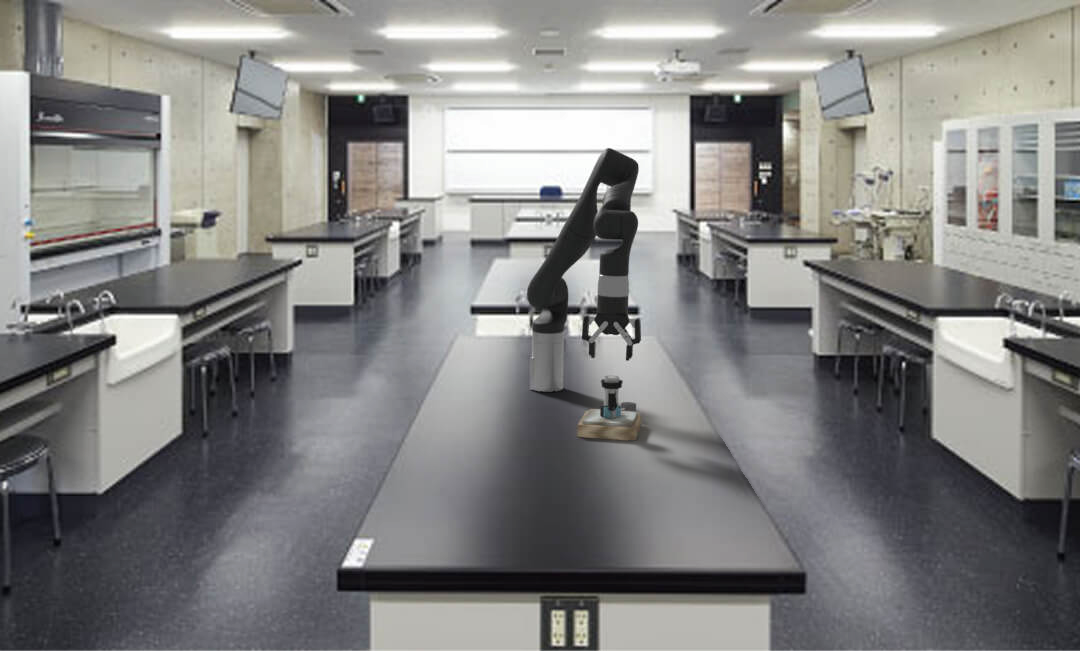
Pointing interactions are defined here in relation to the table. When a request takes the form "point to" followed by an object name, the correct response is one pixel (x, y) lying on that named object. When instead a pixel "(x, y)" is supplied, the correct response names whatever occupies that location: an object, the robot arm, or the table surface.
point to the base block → (609, 425)
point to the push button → (611, 397)
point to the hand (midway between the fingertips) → (610, 358)
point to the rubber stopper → (628, 406)
